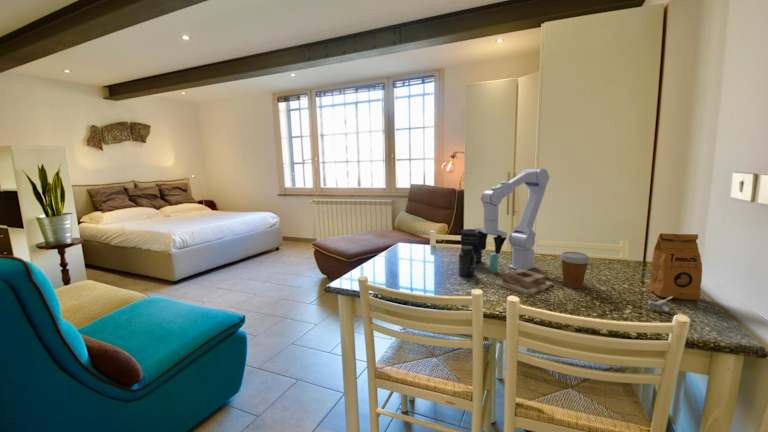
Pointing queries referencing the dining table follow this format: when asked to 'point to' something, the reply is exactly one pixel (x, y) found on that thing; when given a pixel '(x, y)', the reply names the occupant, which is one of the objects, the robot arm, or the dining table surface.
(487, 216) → the robot arm
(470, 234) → the storage jar
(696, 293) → the coffee package
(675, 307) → the dining table surface
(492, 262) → the peg
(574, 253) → the disposable coffee cup
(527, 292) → the socket board
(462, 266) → the supplement bottle
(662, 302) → the dog figurine
